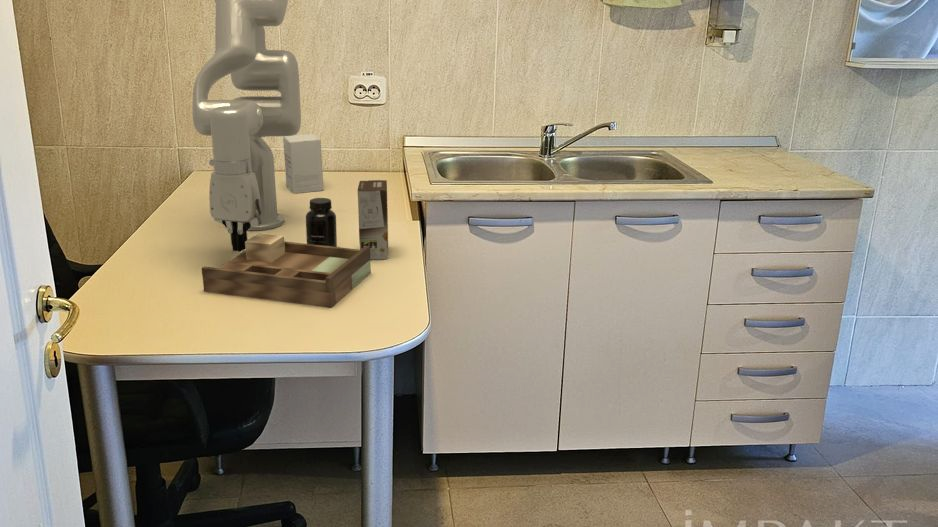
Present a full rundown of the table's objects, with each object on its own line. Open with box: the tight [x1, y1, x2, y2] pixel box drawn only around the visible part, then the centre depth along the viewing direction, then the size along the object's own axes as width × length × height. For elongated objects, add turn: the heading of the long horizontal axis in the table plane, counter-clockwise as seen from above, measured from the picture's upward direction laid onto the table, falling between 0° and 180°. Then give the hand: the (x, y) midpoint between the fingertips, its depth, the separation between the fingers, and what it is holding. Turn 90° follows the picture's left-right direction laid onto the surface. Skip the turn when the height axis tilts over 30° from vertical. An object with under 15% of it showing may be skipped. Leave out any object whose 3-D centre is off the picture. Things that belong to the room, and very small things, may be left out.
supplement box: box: [282, 133, 325, 195], centre depth 247 cm, size 9×9×15 cm
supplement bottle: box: [305, 197, 338, 247], centre depth 197 cm, size 7×7×12 cm
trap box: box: [201, 240, 372, 308], centre depth 179 cm, size 28×20×6 cm
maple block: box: [244, 232, 286, 262], centre depth 185 cm, size 6×6×4 cm
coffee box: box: [357, 179, 389, 260], centre depth 195 cm, size 9×6×16 cm
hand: (240, 249), depth 187 cm, fingers closed
